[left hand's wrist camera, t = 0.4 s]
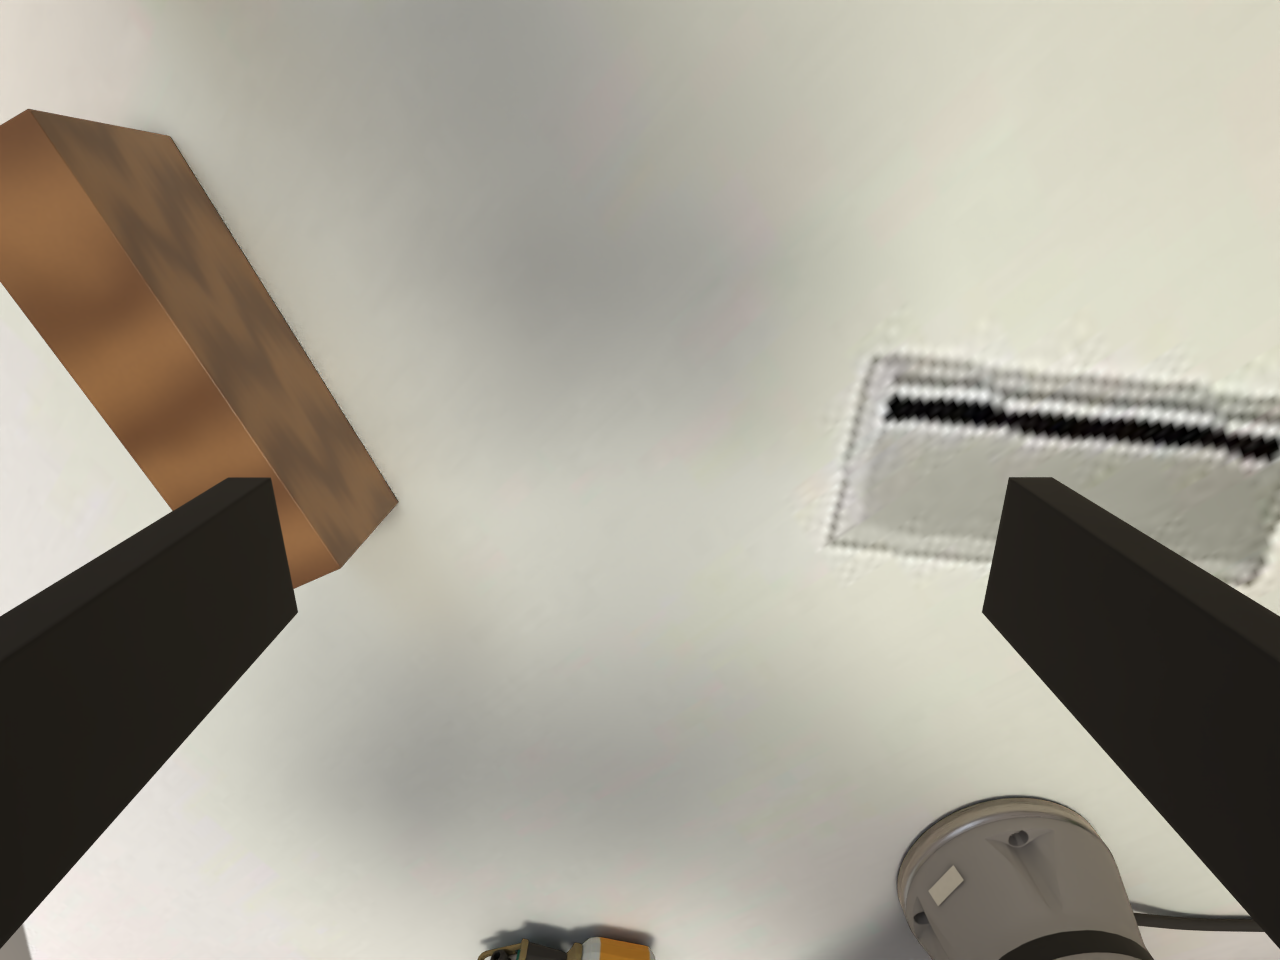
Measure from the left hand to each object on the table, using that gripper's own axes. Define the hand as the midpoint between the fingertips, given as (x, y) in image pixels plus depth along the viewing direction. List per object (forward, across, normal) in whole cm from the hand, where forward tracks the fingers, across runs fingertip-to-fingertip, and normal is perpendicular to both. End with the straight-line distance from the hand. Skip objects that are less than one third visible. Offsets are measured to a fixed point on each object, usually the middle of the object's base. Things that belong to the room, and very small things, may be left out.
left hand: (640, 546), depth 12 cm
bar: (+27, -22, -1) cm, 35 cm away
